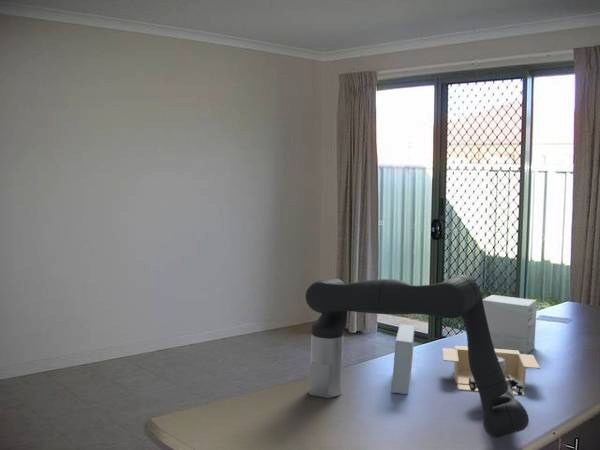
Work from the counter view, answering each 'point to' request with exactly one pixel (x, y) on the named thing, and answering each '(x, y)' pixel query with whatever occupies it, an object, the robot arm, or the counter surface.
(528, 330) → the supplement box
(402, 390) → the skincare box
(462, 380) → the carton
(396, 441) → the counter surface
